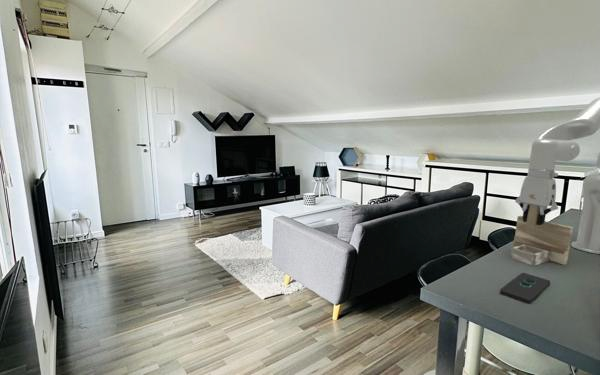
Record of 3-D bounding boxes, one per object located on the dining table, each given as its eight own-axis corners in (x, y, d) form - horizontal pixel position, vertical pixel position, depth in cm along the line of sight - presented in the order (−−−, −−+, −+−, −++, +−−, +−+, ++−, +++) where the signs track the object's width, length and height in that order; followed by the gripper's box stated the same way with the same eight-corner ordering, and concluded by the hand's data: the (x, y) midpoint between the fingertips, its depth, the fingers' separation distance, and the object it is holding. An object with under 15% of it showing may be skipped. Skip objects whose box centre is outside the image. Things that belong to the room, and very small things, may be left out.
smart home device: (551, 280, 106) (531, 300, 93) (551, 285, 106) (530, 306, 93) (522, 271, 112) (498, 289, 99) (521, 276, 112) (498, 294, 100)
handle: (538, 237, 120) (545, 196, 117) (518, 232, 125) (524, 193, 122) (543, 234, 123) (549, 195, 120) (523, 230, 128) (529, 192, 125)
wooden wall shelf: (516, 248, 138) (520, 215, 135) (567, 263, 122) (573, 227, 120) (497, 253, 131) (501, 219, 129) (548, 270, 116) (554, 232, 114)
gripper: (572, 177, 115) (564, 227, 118) (521, 171, 129) (514, 216, 132) (562, 177, 111) (553, 230, 114) (510, 171, 126) (504, 218, 129)
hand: (532, 222), depth 123 cm, fingers closed on handle, 4 cm apart
